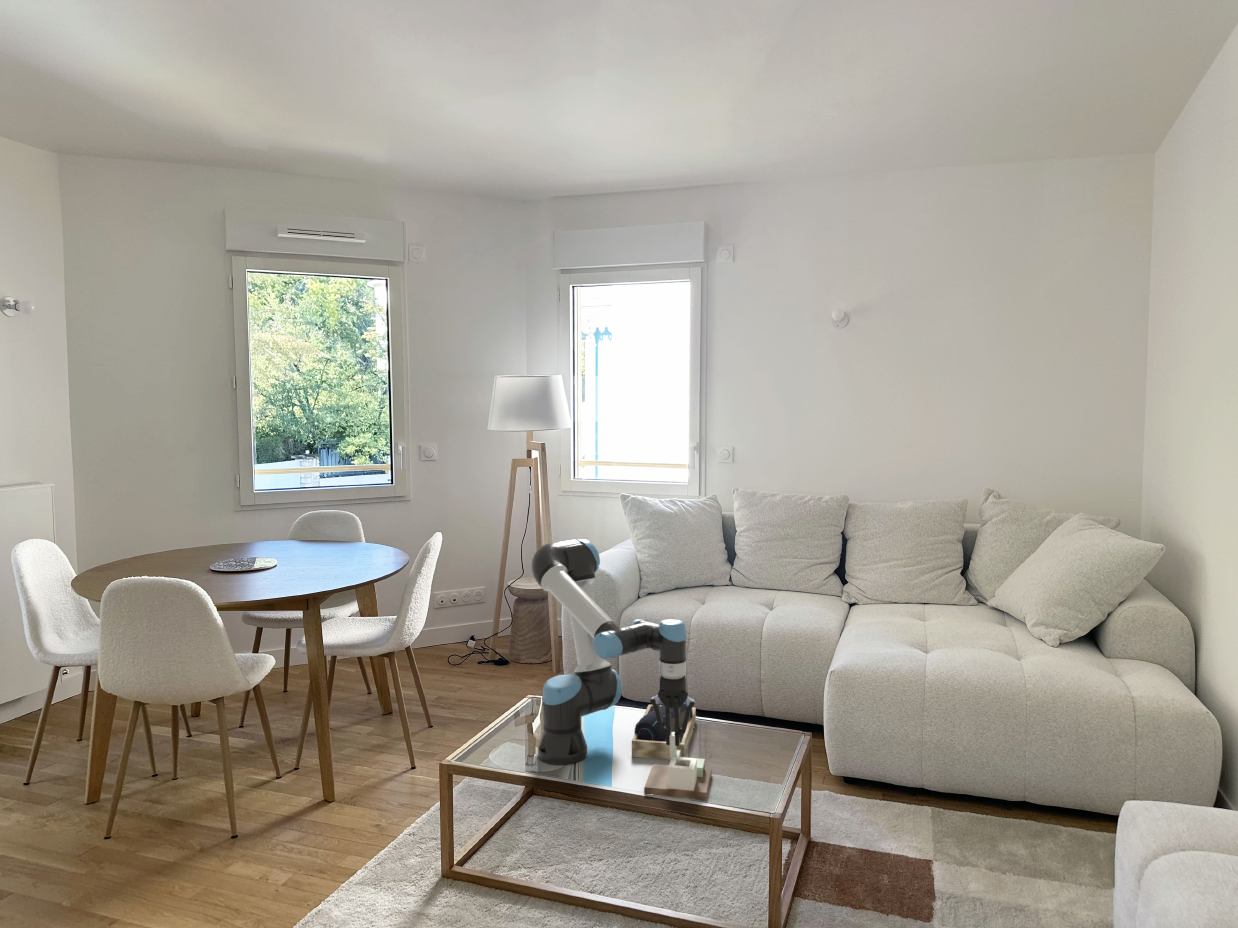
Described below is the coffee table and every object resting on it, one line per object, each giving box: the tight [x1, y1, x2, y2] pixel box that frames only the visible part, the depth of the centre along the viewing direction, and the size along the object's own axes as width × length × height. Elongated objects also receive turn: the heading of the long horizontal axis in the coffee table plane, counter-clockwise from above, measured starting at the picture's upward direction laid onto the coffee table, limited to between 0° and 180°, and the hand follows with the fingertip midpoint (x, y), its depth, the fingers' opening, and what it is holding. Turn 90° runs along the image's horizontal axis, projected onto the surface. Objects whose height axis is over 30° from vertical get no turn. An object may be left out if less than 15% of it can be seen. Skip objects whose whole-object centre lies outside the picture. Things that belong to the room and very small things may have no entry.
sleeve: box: [668, 757, 697, 791], centre depth 232 cm, size 7×7×6 cm
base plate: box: [643, 761, 712, 801], centre depth 236 cm, size 17×15×8 cm
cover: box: [675, 750, 706, 778], centre depth 239 cm, size 8×6×5 cm
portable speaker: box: [633, 700, 693, 742], centre depth 268 cm, size 25×10×10 cm, turn 146°
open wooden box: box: [631, 704, 697, 761], centre depth 269 cm, size 16×31×5 cm, turn 168°
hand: (673, 755), depth 240 cm, fingers closed
